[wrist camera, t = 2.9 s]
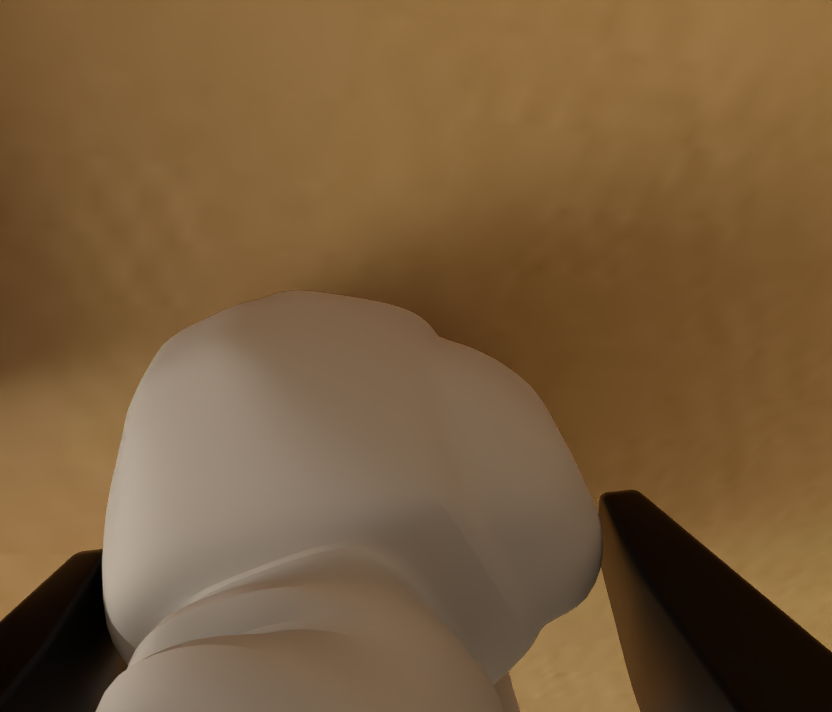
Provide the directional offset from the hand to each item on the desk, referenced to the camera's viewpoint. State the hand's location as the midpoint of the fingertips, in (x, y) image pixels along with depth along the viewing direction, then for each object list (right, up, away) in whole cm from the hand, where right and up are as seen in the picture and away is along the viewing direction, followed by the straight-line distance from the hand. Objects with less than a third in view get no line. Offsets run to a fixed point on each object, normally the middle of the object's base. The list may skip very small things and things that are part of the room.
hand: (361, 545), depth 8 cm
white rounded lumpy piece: (0, +1, +2) cm, 2 cm away
